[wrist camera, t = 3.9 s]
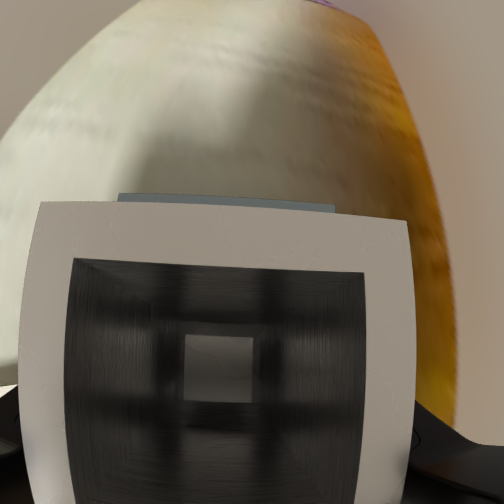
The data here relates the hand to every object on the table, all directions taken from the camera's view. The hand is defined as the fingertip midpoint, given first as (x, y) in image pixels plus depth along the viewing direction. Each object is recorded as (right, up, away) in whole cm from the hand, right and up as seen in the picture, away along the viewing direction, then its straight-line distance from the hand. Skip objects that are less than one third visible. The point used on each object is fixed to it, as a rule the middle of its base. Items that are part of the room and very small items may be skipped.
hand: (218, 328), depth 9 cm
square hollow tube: (-1, -3, +5) cm, 6 cm away
